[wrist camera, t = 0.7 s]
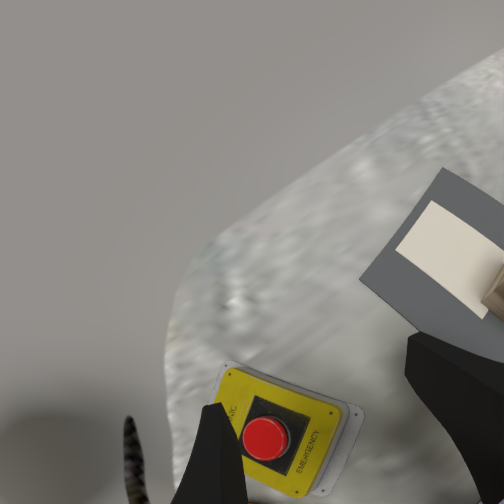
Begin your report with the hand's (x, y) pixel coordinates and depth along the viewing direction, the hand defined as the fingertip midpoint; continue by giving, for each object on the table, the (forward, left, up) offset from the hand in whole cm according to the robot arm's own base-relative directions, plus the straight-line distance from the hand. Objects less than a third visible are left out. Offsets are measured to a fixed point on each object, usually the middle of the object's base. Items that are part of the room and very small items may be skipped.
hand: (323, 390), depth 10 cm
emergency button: (+3, +10, -16) cm, 19 cm away
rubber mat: (-3, -12, -15) cm, 20 cm away
